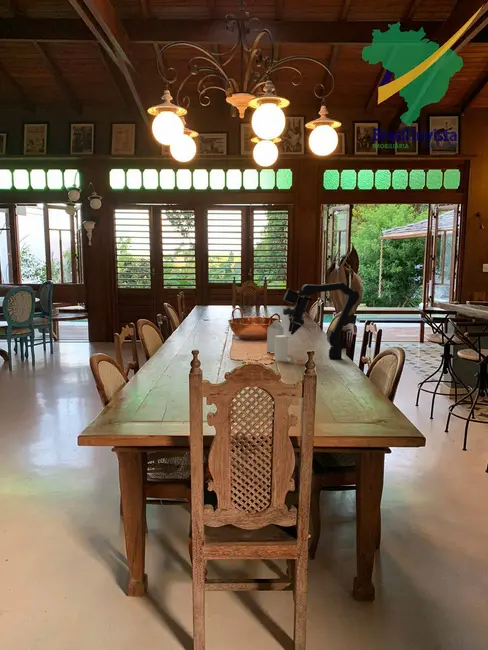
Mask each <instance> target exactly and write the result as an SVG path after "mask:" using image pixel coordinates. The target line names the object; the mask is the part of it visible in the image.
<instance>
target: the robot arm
mask: <svg viewBox="0 0 488 650" xmlns="http://www.w3.org/2000/svg"><path fill="white" fill-rule="evenodd" d="M331 291H341V292H342V293H343V294H344V295H345V297H344V305H343V307H342V309H341V311H340V314H339V316H338V318H337V321H336V322H335V324H334V327H333V328H332V330H331V329H329V330H328V333H327V334H326V335H325V336H326V341H327V343H328V344H329V345H330V346H329V347H330V348H329V349H328V358H329V359H330V360H339V361H340V360H343V357H342V356H343V348H344V345H343V343H341V337H342V331H343V328H344V327H345V324H346V321H347V319H348V317H349V316H350V313H351V311H352V309H353V307H354V306H355V305H356V304H357V302H358V301H359V299H360V297H361V296H360V293H359V292H358V291H356V290H354V289H351V288H350V287H349V285H346V283H345V282H342V281H339V282H334V283H333V282H332V283H325V284H309V283H308V284H307V283H306V284H303V285H302V287H301V288H300V289H299V290H296V291H295V290H293V289H291V288H287V290H286V292H285V293H284V295H283V301H285V302H287V303H290V304H294V303H296V304H295V305H294V306H293V307H284V308H282V314H283V316H287V317H288V320H289V326H288V332H289V333H290V335H294V334H295V333H296V332H297V331H298V330H299V329H301V328H302V327H303V326H304V324H305V320H304V319H303V316H304V314H305V313H306V311H307V310H306V309H307V306H308V304H309V302H314V301H313V298H312V295H313V296H314V295H315V294H319V293H323V292H331Z"/></svg>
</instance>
